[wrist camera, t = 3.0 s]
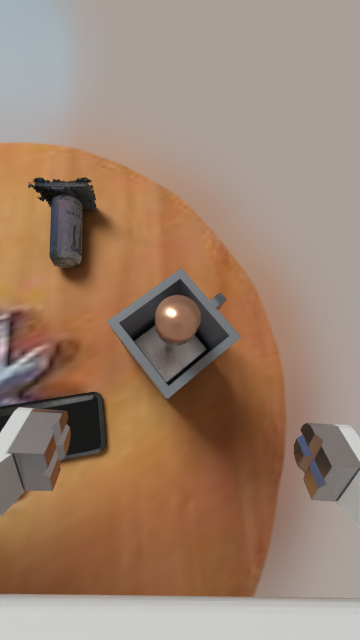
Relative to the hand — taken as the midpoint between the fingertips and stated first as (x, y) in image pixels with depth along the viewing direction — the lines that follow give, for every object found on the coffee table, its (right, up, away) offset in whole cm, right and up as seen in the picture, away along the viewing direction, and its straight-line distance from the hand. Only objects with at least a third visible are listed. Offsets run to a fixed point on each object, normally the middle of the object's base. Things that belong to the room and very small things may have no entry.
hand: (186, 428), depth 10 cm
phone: (-18, -11, +28) cm, 35 cm away
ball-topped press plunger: (-2, 0, +25) cm, 26 cm away
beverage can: (-17, +17, +35) cm, 43 cm away
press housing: (-1, 0, +31) cm, 31 cm away
